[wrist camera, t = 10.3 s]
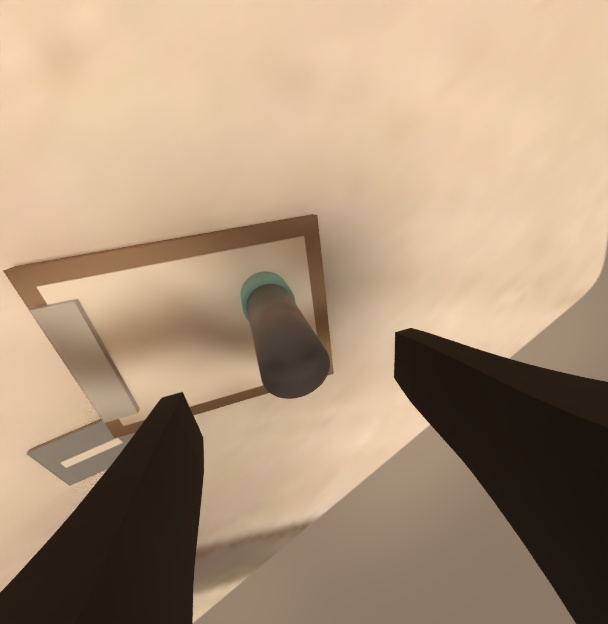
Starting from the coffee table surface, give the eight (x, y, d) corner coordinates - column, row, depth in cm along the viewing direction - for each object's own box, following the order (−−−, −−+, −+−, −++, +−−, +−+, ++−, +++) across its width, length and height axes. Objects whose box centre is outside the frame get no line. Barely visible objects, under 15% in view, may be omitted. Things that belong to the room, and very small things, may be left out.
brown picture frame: (329, 367, 22) (336, 378, 21) (118, 429, 19) (111, 446, 18) (313, 214, 16) (320, 216, 15) (14, 266, 13) (-7, 274, 12)
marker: (293, 307, 18) (340, 385, 11) (249, 322, 17) (268, 413, 10) (281, 265, 16) (327, 322, 9) (233, 279, 16) (243, 351, 9)
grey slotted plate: (151, 446, 20) (150, 450, 20) (71, 481, 20) (68, 487, 19) (118, 411, 18) (116, 415, 18) (29, 449, 18) (25, 455, 17)
